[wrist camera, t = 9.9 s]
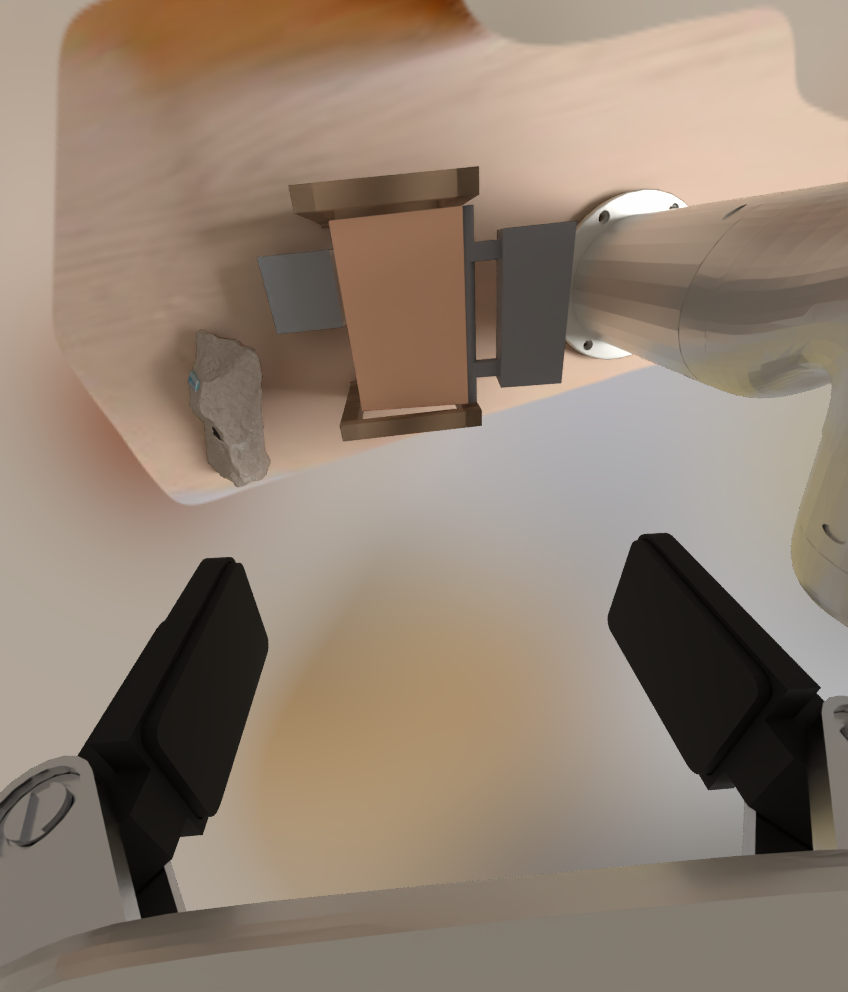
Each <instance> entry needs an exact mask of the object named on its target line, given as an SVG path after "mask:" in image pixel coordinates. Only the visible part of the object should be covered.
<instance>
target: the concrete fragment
mask: <svg viewBox="0 0 848 992" xmlns="http://www.w3.org/2000/svg"><path fill="white" fill-rule="evenodd" d="M196 339H197V341H196V346H197V355H196V361H195V362H194V366H193V369H192V371H190V373H189V380H188V382H189V391H190V403H189V405H190V407H191V408H192V410H193V413H194V414H195V415H196V416H197V417H198V418H199V419H201V420H202V421H203V422H204V428H205V439H206V443H207V456H208V462H209V464H210V465H211V466H212V467H214V469H215V470H216V471H217V472H218V473H219V474H220V476H222V477H224V478H227V479H228V480H230V481H232V482H233V483H234V484H235V486H237V487H240V486H244V485H246V484H248V483H250V482H251V481H258V480H261V479H263V477H264V476H265V475H266V474H267V470H268V467H269V465H270V459H269V456H268V454H267V453H266V449H265V443H264V435H263V429H264V426H263V422H262V416H261V412H262V405H261V400H262V394H263V391H262V389H261V382H262V373H261V368H260V360H259V357H258V355H257V354H256V353H255V350H254V349H253V348H251V347H249V346H247V347H246V346H243V345H241V343H240V342H239V341H235V340H234V339H233V340H229V339H226V338H218V337H216V336H215V335H212V334H210V333H208V332H206V331H205V330H198V331H197V332H196Z"/></svg>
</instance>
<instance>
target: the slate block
mask: <svg viewBox="0 0 848 992" xmlns="http://www.w3.org/2000/svg"><path fill="white" fill-rule="evenodd" d="M257 260H258V263H259V267H260V271H261V275H262V278H263V282H264V286H265V290H266V293H267V297H268V301H269V304H270V308H271V312H272V316H273V319H274V323H275V327H276V331H277V334H284V333H293V332H302V331H312V330H321V329H330V328H339V327H344V325H345V324H346V317H345V311H344V305H343V300H342V294H341V289H340V283H339V277H338V272H337V266H336V261H335V255H334V250H321V251H311V252H302V253H292V254H282V255H273V256H263V257H257Z"/></svg>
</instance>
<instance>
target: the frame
mask: <svg viewBox="0 0 848 992" xmlns="http://www.w3.org/2000/svg"><path fill="white" fill-rule="evenodd" d="M288 186H289V191H290V195H291V200H292V205H293V209H294V213H295V214H298V215H300V216H302V217H305V218H307V219H310V220H312V221H314V222H317V223H319V224H320V226H321V227H329V221H331V220H340V219H349V218H358V217H367V216H376V215H385V214H394V213H403V212H411V211H420V210H429V209H438V208H447V207H456V206H461V205H463V204H464V203H466V202H468V201H469V200H471V199H472V198H474V197H476V196H477V195H479V166H478V167H468V168H458V169H448V170H438V171H428V172H418V173H408V174H398V175H388V176H378V177H368V178H358V179H348V180H338V181H328V182H318V183H308V184H298V185H288ZM350 385H351V386H350V390H349V394H348V397H347V401H346V405H345V408H344V412H343V416H342V420H341V423H340V429H341V434H342V439H343V441H351V440H360V439H368V438H377V437H386V436H395V435H404V434H412V433H421V432H430V431H439V430H447V429H456V428H465V427H474V426H482V410H481V408H480V406H479V405H478V403H477V401H476V402H474V403H468V404H455V405H456V407H457V409H450V410H441V411H433V412H424V413H415V414H406V415H397V416H388V417H379V418H370V419H363V412H364V411H362V407H361V401H360V395H359V390H358V384H357V381H355V382H351V383H350Z"/></svg>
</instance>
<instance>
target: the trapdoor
mask: <svg viewBox="0 0 848 992" xmlns="http://www.w3.org/2000/svg"><path fill="white" fill-rule="evenodd" d="M576 225H577V221H569V222H560V223H551V224H541V225H532V226H522V227H513V228H503V229H500V230H497V240H490V241H481V242H474V213H473V205H466V206H456V207H447V208H438V209H429V210H420V211H411V212H403V213H394V214H385V215H376V216H367V217H358V218H349V219H340V220H331V221H329V227H330V232H331V238H332V244H333V249H334V255H335V261H336V266H337V272H338V277H339V283H340V289H341V294H342V300H343V305H344V311H345V317H346V322H347V328H348V334H349V339H350V345H351V350H352V356H353V362H354V367H355V373H356V379H357V384H358V390H359V395H360V401H361V407H362V411H369V410H383V409H397V408H411V407H426V406H440V405H454V404H468V403H474V402H476V401H477V383H476V377H489V376H496V377H497V379H498V381H499V384H500V386H501V388H502V387H516V386H529V385H543V384H556V383H561V380H562V370H563V360H564V349H565V339H566V328H567V318H568V308H569V297H570V287H571V276H572V266H573V256H574V245H575V235H576ZM496 259H497V320H496V358H494V359H482V360H476V326H475V269H474V262H476V261H486V260H496Z"/></svg>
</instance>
